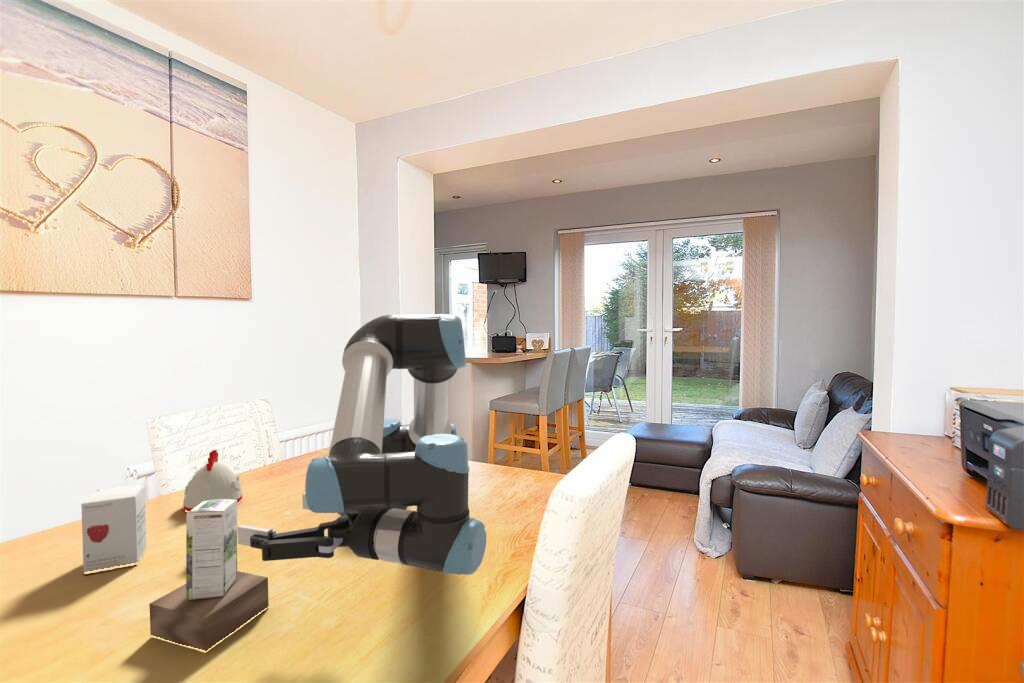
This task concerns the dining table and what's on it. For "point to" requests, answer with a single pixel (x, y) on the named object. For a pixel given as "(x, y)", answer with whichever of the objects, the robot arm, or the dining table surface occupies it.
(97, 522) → the supplement box
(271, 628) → the dining table surface
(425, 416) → the robot arm
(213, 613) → the walnut block
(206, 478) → the kitchen timer
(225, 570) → the syrup box
